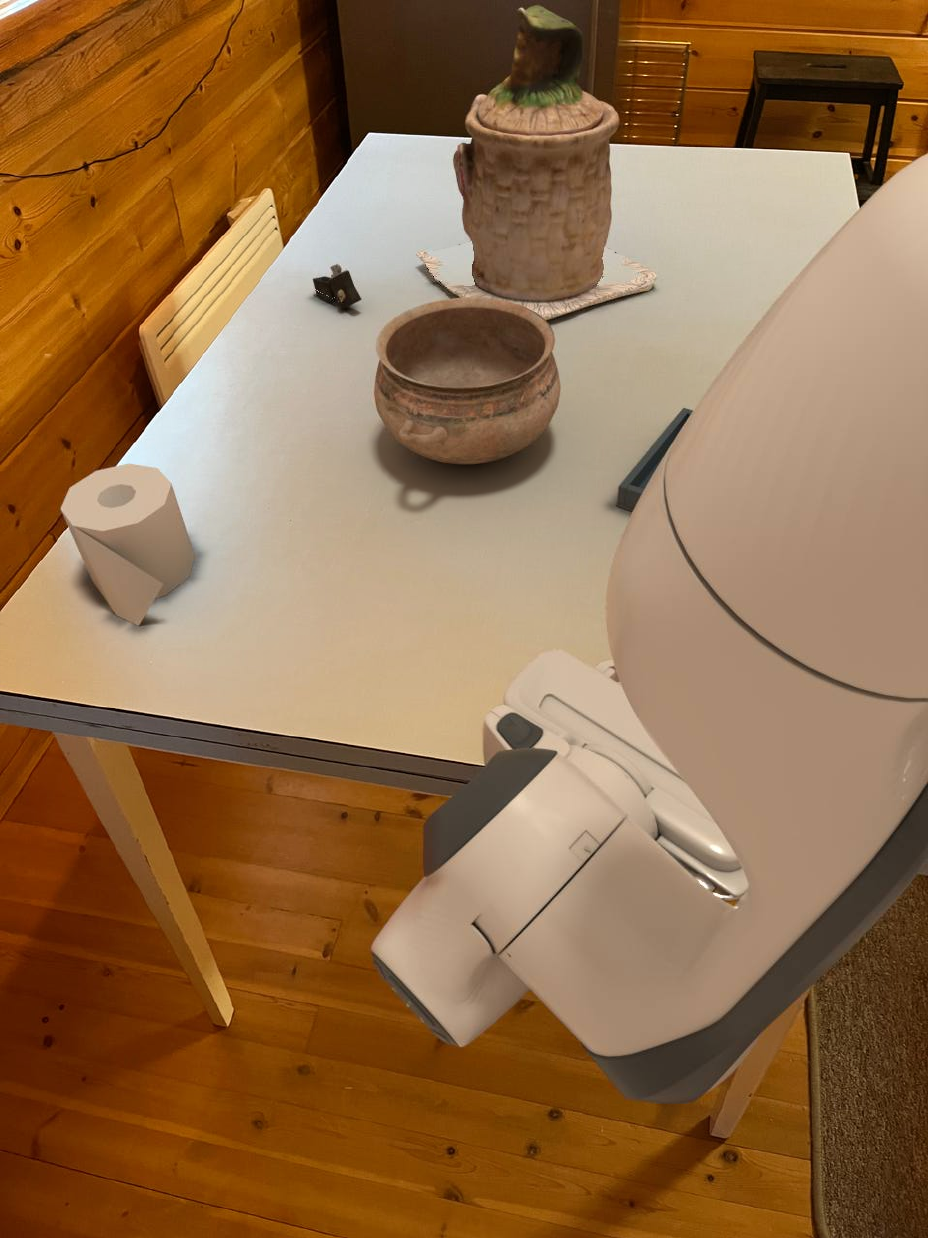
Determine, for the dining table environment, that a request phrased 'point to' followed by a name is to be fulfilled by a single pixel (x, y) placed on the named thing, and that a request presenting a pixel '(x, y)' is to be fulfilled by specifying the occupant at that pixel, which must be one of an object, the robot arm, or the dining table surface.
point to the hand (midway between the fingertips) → (704, 687)
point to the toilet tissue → (129, 536)
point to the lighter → (337, 287)
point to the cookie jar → (539, 180)
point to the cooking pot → (466, 379)
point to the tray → (649, 464)
